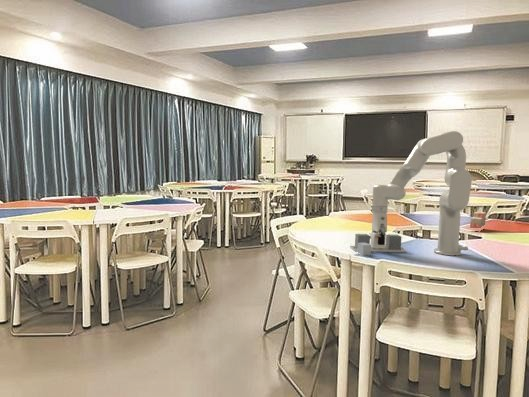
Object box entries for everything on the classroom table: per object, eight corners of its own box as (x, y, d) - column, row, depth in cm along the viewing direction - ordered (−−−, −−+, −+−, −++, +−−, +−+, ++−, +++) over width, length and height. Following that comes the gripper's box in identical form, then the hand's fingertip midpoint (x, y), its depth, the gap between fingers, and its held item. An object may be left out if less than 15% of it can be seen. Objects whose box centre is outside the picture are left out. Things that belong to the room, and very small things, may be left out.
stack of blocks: (479, 232, 286) (481, 214, 285) (469, 231, 290) (470, 213, 289) (484, 229, 304) (486, 212, 303) (475, 228, 307) (476, 211, 306)
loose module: (381, 246, 220) (382, 232, 219) (385, 248, 215) (385, 234, 214) (370, 245, 219) (370, 232, 219) (373, 247, 214) (374, 234, 214)
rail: (399, 248, 222) (400, 233, 222) (406, 252, 213) (406, 236, 213) (349, 247, 221) (350, 232, 220) (354, 251, 212) (355, 235, 211)
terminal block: (364, 252, 210) (365, 242, 210) (370, 255, 204) (371, 244, 204) (357, 252, 209) (357, 242, 209) (362, 255, 203) (363, 245, 203)
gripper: (393, 211, 207) (391, 246, 208) (381, 207, 224) (379, 239, 226) (377, 211, 207) (376, 246, 208) (367, 207, 224) (365, 239, 225)
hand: (377, 242), depth 217 cm, fingers open, 9 cm apart
